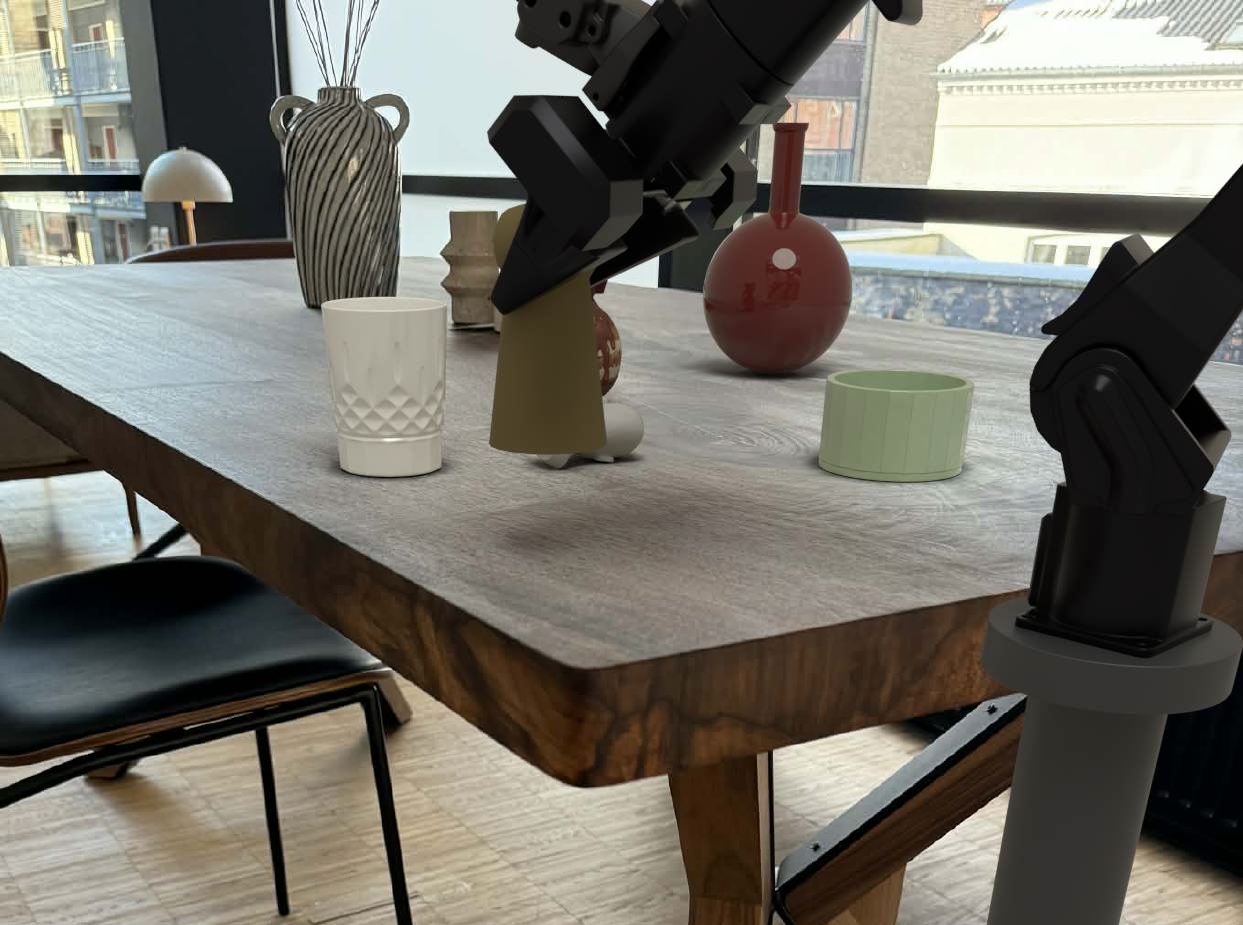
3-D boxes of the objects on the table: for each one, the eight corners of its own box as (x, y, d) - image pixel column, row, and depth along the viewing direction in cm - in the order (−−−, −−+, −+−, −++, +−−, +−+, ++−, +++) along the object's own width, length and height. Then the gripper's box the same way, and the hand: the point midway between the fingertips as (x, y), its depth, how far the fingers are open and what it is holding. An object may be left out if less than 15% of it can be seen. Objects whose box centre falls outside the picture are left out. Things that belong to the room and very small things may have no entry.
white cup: (341, 482, 92) (330, 312, 87) (323, 458, 98) (313, 298, 93) (462, 476, 94) (459, 308, 89) (437, 452, 100) (432, 295, 95)
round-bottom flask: (671, 368, 134) (683, 121, 125) (785, 359, 140) (805, 122, 130) (753, 389, 124) (773, 122, 115) (874, 378, 130) (903, 123, 120)
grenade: (501, 399, 119) (500, 195, 112) (594, 394, 122) (598, 194, 114) (537, 419, 112) (538, 201, 104) (635, 413, 114) (643, 200, 106)
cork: (472, 450, 72) (465, 204, 67) (511, 429, 77) (507, 199, 72) (588, 457, 71) (591, 205, 65) (620, 435, 76) (625, 200, 70)
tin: (988, 467, 97) (1002, 380, 94) (908, 488, 91) (920, 396, 89) (872, 447, 103) (881, 364, 100) (789, 465, 97) (797, 378, 94)
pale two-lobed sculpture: (619, 467, 102) (657, 457, 97) (518, 476, 98) (553, 465, 94) (612, 403, 101) (651, 389, 96) (510, 409, 97) (545, 395, 93)
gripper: (711, -97, 68) (509, 166, 78) (528, -156, 54) (308, 176, 64) (857, 93, 69) (638, 330, 79) (715, 86, 55) (469, 377, 64)
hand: (523, 302), depth 71 cm, fingers closed on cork, 5 cm apart
